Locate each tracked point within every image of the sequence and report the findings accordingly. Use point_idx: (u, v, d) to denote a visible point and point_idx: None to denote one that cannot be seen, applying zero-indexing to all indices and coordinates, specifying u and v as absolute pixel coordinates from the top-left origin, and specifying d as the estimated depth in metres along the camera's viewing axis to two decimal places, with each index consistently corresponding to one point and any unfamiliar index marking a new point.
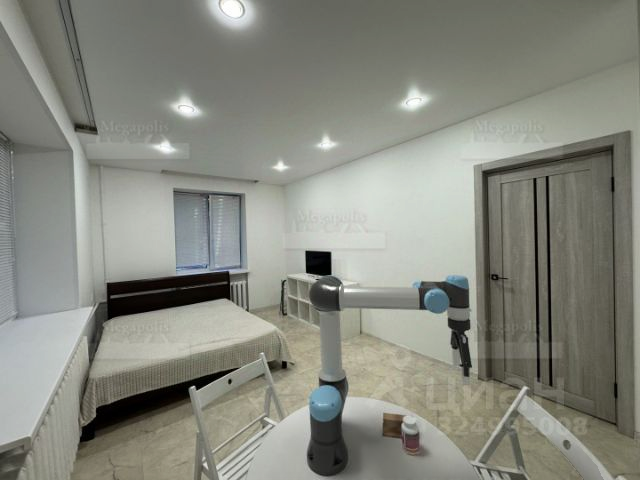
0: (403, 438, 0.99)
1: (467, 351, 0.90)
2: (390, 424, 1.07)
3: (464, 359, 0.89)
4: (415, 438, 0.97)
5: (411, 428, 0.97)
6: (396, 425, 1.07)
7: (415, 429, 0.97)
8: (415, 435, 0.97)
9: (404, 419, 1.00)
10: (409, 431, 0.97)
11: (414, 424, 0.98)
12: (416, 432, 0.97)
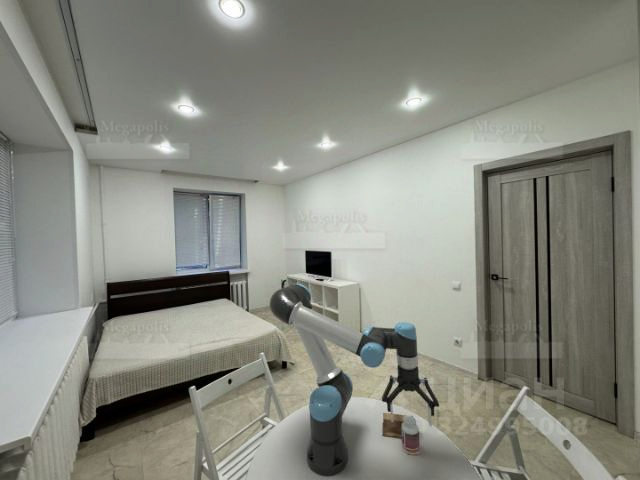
0: (403, 438, 0.99)
1: (386, 388, 1.01)
2: (390, 424, 1.07)
3: (384, 392, 1.02)
4: (415, 438, 0.97)
5: (411, 428, 0.97)
6: (396, 425, 1.07)
7: (415, 429, 0.97)
8: (415, 435, 0.97)
9: (404, 419, 1.00)
10: (409, 431, 0.97)
11: (414, 424, 0.98)
12: (416, 432, 0.97)
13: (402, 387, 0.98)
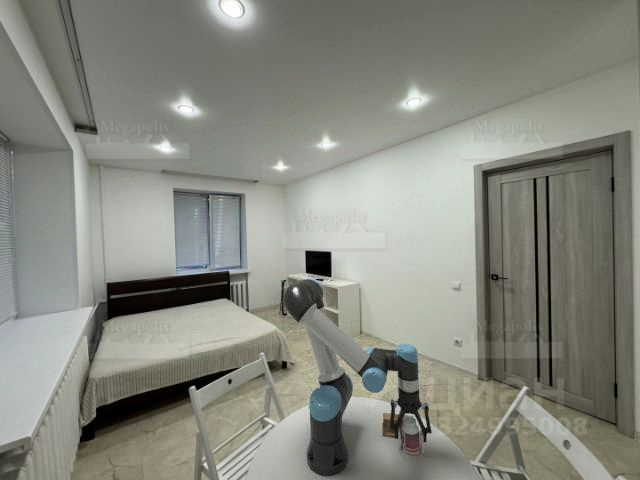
0: (403, 438, 0.99)
1: (391, 414, 1.01)
2: None
3: (390, 418, 1.02)
4: (415, 438, 0.97)
5: (411, 428, 0.97)
6: None
7: (415, 429, 0.97)
8: (415, 435, 0.97)
9: (404, 419, 1.00)
10: (409, 431, 0.97)
11: (414, 424, 0.98)
12: (416, 432, 0.97)
13: (404, 410, 0.98)
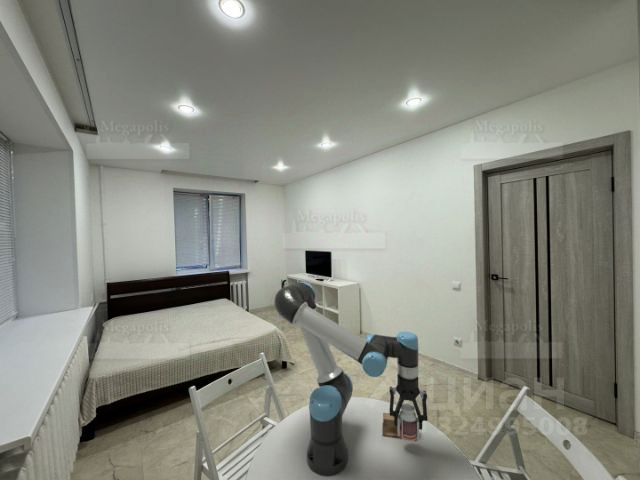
0: (401, 425, 0.99)
1: (390, 401, 1.01)
2: (390, 424, 1.07)
3: None
4: (413, 425, 0.97)
5: (409, 415, 0.98)
6: None
7: (413, 416, 0.98)
8: (413, 422, 0.97)
9: (402, 406, 1.00)
10: (407, 418, 0.97)
11: (412, 411, 0.98)
12: (414, 419, 0.97)
13: (403, 397, 0.98)
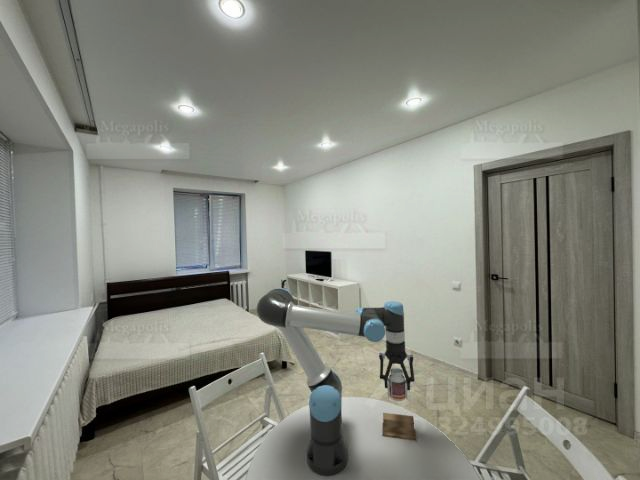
0: (390, 387, 1.07)
1: (380, 366, 1.09)
2: (390, 424, 1.07)
3: None
4: (401, 385, 1.05)
5: (397, 377, 1.06)
6: (396, 425, 1.07)
7: (401, 378, 1.06)
8: (401, 383, 1.05)
9: (391, 370, 1.08)
10: (396, 379, 1.06)
11: (400, 373, 1.06)
12: (402, 381, 1.06)
13: (391, 361, 1.07)
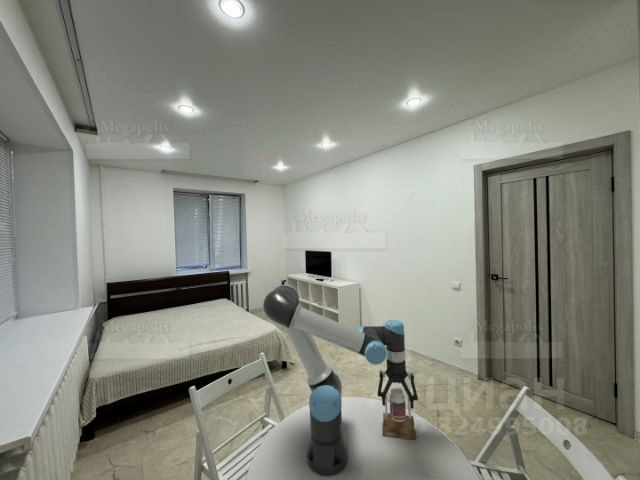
0: (391, 407, 1.07)
1: (379, 383, 1.09)
2: (390, 424, 1.07)
3: (378, 387, 1.11)
4: (402, 406, 1.05)
5: (398, 398, 1.06)
6: (396, 425, 1.07)
7: (402, 399, 1.06)
8: (401, 404, 1.05)
9: (392, 390, 1.09)
10: (396, 400, 1.06)
11: (401, 394, 1.06)
12: (402, 401, 1.06)
13: (391, 380, 1.07)
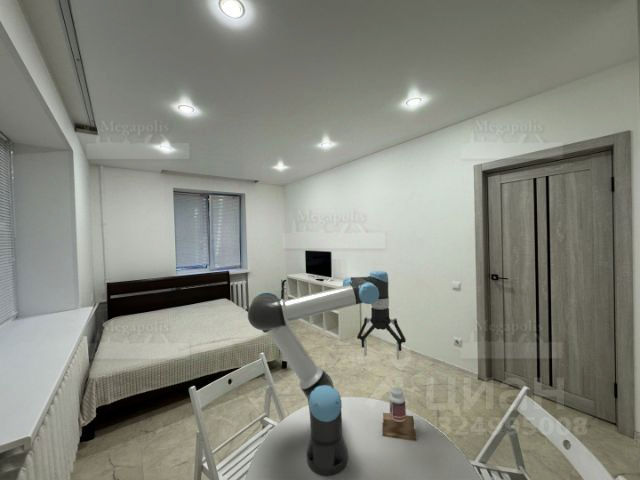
0: (391, 407, 1.07)
1: None
2: (390, 424, 1.07)
3: None
4: (402, 406, 1.05)
5: (398, 398, 1.06)
6: (396, 425, 1.07)
7: (402, 399, 1.06)
8: (401, 404, 1.05)
9: (392, 390, 1.09)
10: (396, 400, 1.06)
11: (401, 394, 1.06)
12: (402, 401, 1.06)
13: (374, 325, 1.13)
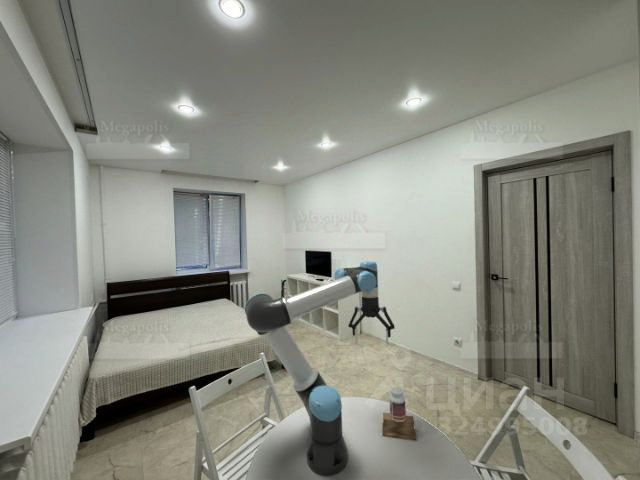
0: (391, 407, 1.07)
1: (352, 316, 1.20)
2: (390, 424, 1.07)
3: None
4: (402, 406, 1.05)
5: (398, 398, 1.06)
6: (396, 425, 1.07)
7: (402, 399, 1.06)
8: (401, 404, 1.05)
9: (392, 390, 1.09)
10: (396, 400, 1.06)
11: (401, 394, 1.06)
12: (402, 401, 1.06)
13: (364, 314, 1.17)
